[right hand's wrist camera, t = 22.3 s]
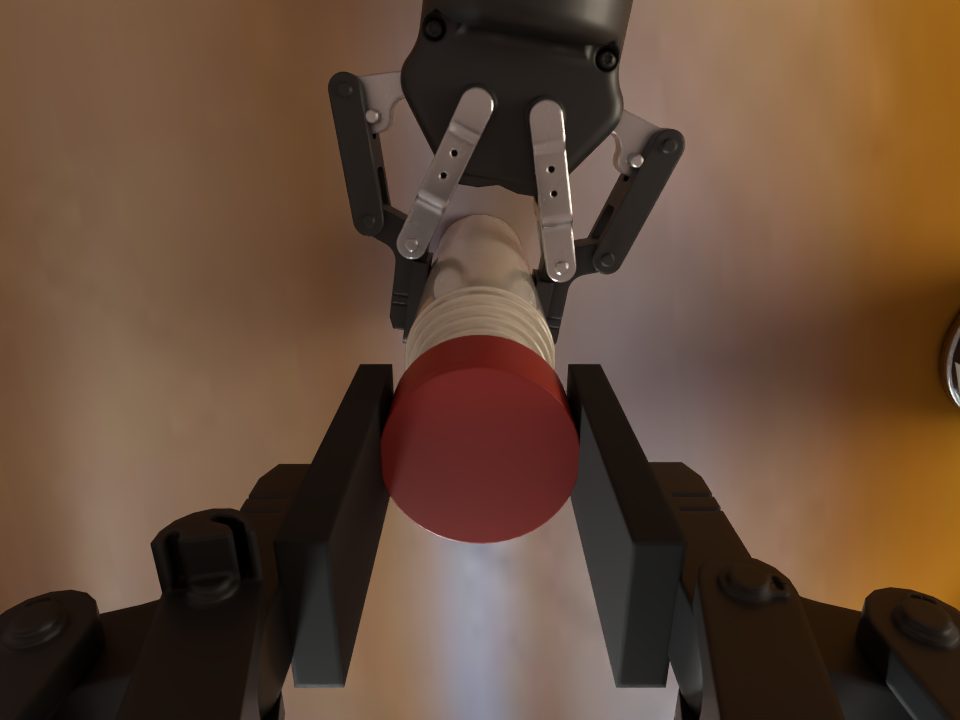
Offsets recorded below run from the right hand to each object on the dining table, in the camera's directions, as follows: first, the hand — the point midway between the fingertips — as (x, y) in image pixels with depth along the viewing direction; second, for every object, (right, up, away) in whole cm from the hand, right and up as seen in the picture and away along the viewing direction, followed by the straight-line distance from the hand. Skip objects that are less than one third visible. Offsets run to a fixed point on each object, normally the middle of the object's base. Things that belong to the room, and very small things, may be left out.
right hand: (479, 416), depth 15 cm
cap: (0, -1, -2) cm, 2 cm away
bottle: (0, +7, +17) cm, 18 cm away
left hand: (0, +2, +12) cm, 13 cm away
